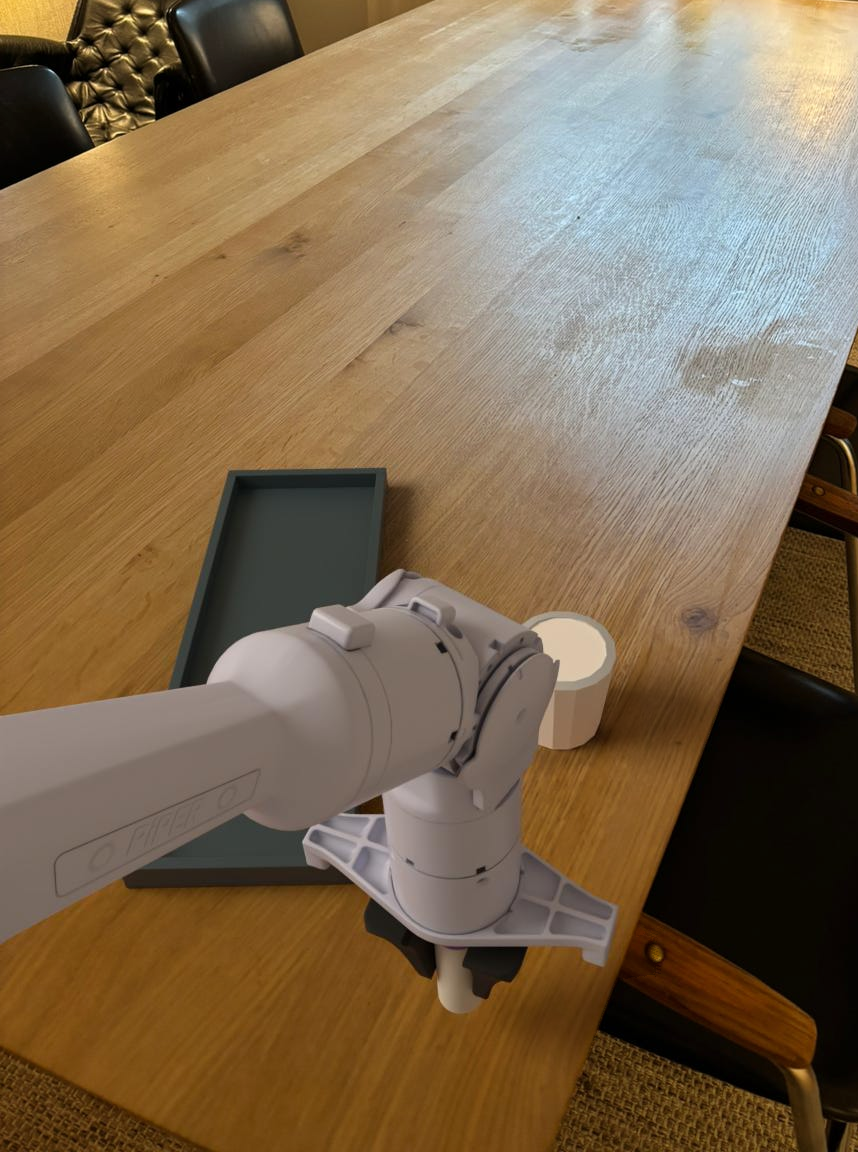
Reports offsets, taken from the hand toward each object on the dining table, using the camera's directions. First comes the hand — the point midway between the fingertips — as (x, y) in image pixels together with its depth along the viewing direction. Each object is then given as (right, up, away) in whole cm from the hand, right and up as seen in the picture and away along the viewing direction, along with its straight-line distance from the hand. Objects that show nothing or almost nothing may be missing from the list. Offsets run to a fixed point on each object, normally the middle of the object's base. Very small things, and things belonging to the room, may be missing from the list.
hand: (460, 969), depth 52 cm
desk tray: (-14, +13, +24) cm, 30 cm away
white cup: (+6, +9, +19) cm, 22 cm away
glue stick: (0, -2, +2) cm, 2 cm away
